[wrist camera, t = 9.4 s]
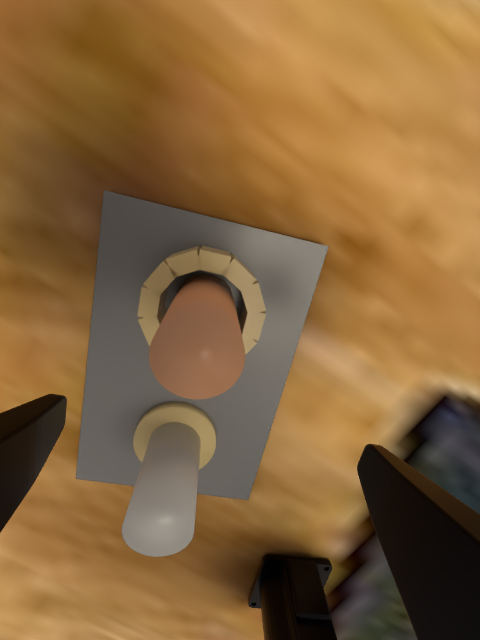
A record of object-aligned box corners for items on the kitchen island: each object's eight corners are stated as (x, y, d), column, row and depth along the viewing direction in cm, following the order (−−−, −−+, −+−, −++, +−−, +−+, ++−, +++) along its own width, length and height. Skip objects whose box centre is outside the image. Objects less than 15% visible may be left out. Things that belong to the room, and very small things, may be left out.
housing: (246, 489, 25) (259, 607, 17) (81, 468, 23) (15, 589, 16) (323, 245, 19) (392, 262, 12) (110, 191, 17) (27, 170, 10)
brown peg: (227, 333, 19) (233, 405, 12) (172, 322, 19) (142, 391, 11) (239, 280, 18) (255, 322, 11) (181, 267, 18) (156, 303, 10)
